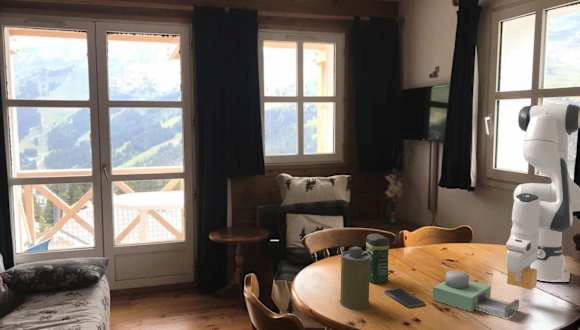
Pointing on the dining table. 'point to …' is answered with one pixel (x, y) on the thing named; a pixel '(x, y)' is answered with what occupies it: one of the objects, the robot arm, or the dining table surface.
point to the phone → (404, 298)
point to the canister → (355, 278)
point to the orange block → (524, 278)
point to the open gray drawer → (498, 307)
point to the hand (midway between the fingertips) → (521, 278)
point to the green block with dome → (460, 291)
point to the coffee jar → (378, 257)
